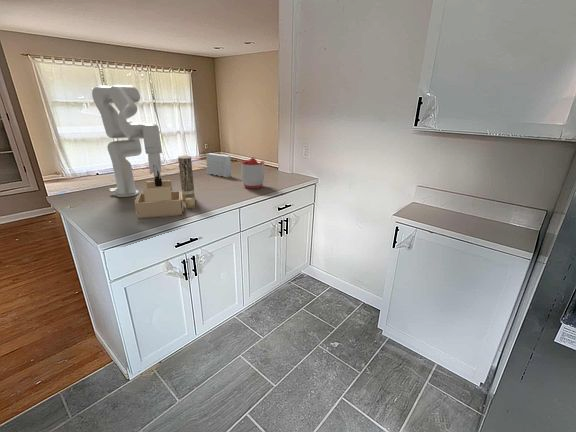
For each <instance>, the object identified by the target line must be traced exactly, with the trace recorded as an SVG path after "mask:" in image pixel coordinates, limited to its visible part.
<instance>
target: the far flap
mask: <svg viewBox="0 0 576 432" xmlns="http://www.w3.org/2000/svg"><path fill="white" fill-rule="evenodd" d="M145 183H146V188H160V187H171V192H173V186H172V180H171V179H170V180H169V179H168V180H162V186H157V187H156V186H155V180H151V181H150V180H149V181H145Z"/></svg>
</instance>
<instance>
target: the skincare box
mask: <svg viewBox="0 0 576 432" xmlns="http://www.w3.org/2000/svg"><path fill="white" fill-rule="evenodd" d="M205 156H206V173H208V174H207V175H211V174H213V175H212V176H216V175H218V176H217V177H221V176H223V178H231V177H232V166H231V156H230V155H225V154H221V153H220V154H219V153H214V152H213V153H212V152H209V153H206V154H205ZM230 176H231V177H230Z"/></svg>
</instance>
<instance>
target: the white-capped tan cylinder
mask: <svg viewBox="0 0 576 432" xmlns="http://www.w3.org/2000/svg"><path fill="white" fill-rule="evenodd" d="M195 201H196V200H195V199H194V198H192V197H190V198H186V199H185V200H184V202H185V209H188V210H189V209H190V210H191V209H194V208H196V202H195Z"/></svg>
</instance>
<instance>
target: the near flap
mask: <svg viewBox="0 0 576 432" xmlns="http://www.w3.org/2000/svg"><path fill="white" fill-rule="evenodd" d="M171 192H172V191H171V187H160V188H147V187H146V188H144V187H143V193H144V198H145V202H152V201H166V200H172V198H171Z"/></svg>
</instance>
